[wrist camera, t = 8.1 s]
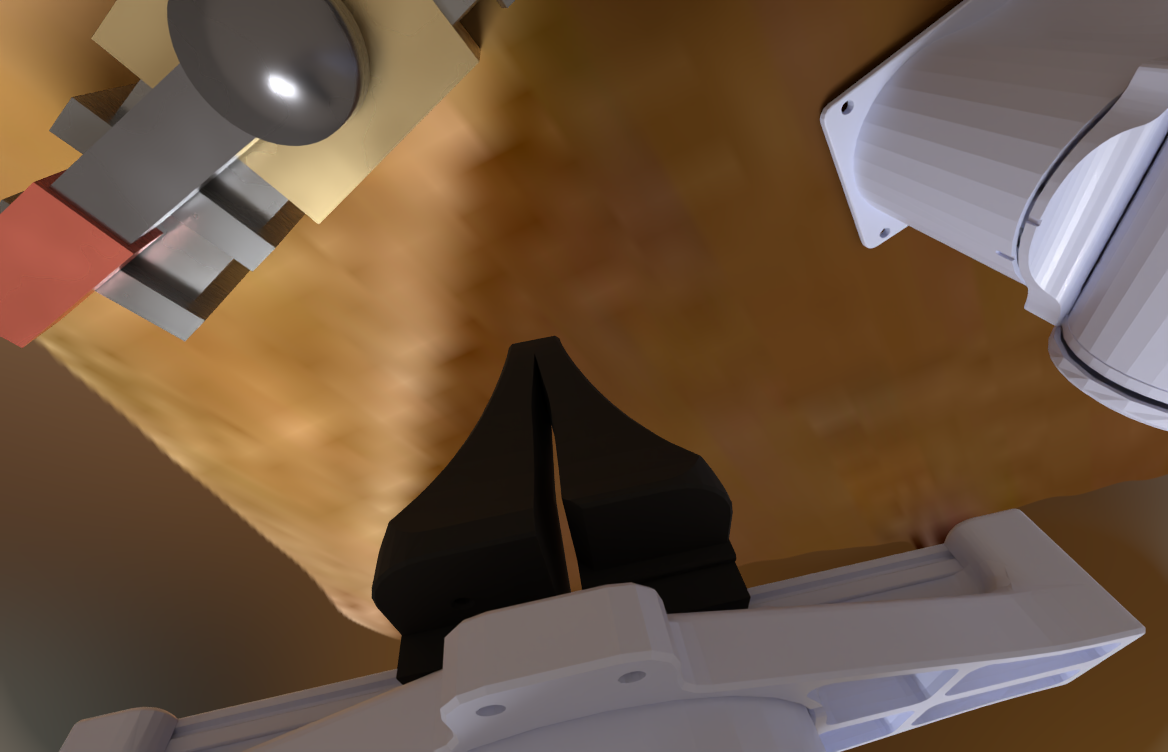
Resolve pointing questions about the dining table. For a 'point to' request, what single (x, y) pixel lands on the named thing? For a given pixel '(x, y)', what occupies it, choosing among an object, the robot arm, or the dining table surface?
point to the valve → (265, 151)
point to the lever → (178, 144)
